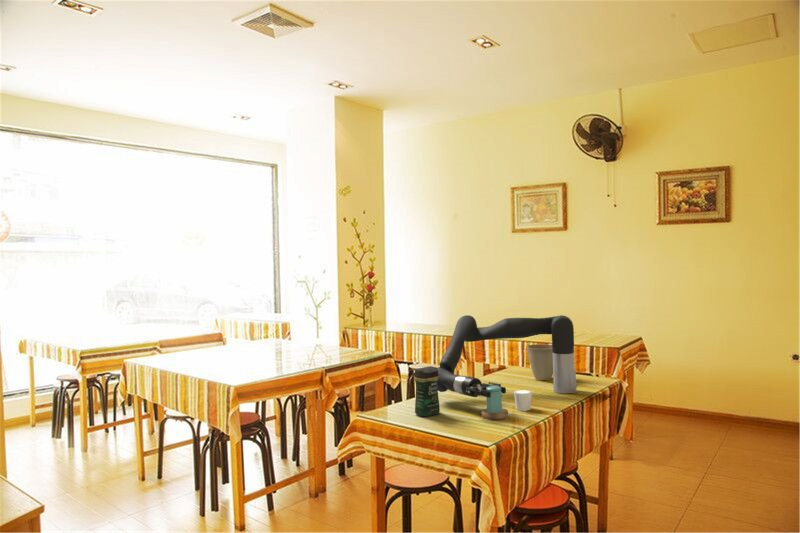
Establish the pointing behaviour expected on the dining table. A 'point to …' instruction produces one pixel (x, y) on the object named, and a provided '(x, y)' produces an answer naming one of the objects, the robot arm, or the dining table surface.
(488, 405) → the teal lidded canister
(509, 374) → the dining table surface
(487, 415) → the post
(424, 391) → the coffee jar
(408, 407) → the dining table surface
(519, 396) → the white cup
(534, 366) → the plant pot
